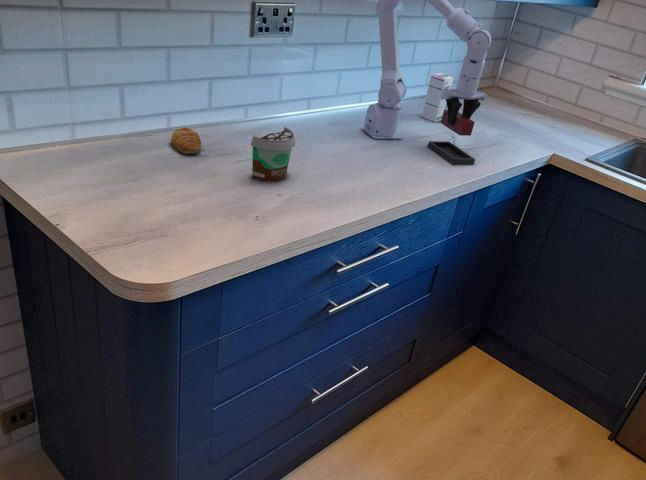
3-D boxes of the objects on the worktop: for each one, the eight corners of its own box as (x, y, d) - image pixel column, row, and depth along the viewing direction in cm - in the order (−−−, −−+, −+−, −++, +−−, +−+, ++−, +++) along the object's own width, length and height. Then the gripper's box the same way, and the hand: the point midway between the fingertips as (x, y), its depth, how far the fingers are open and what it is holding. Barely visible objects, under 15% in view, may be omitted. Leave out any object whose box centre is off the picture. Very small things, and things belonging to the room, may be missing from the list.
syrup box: (435, 122, 200) (446, 78, 192) (420, 117, 202) (431, 73, 194) (443, 120, 204) (454, 77, 196) (428, 114, 206) (439, 71, 198)
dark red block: (459, 135, 168) (463, 121, 166) (440, 123, 175) (444, 109, 173) (470, 135, 170) (474, 121, 167) (451, 123, 177) (455, 110, 175)
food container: (269, 188, 132) (273, 145, 127) (247, 179, 135) (251, 136, 129) (301, 175, 142) (307, 134, 136) (281, 166, 144) (285, 126, 138)
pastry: (206, 156, 141) (206, 140, 139) (177, 156, 138) (177, 140, 136) (196, 141, 148) (197, 126, 146) (169, 141, 145) (168, 126, 143)
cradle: (452, 164, 167) (454, 159, 167) (427, 146, 177) (428, 141, 176) (473, 164, 171) (475, 159, 170) (448, 146, 181) (449, 141, 180)
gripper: (457, 79, 158) (443, 128, 165) (499, 81, 165) (484, 129, 172) (442, 71, 163) (430, 120, 170) (483, 74, 170) (470, 121, 177)
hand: (456, 124), depth 171 cm, fingers closed on dark red block, 4 cm apart
